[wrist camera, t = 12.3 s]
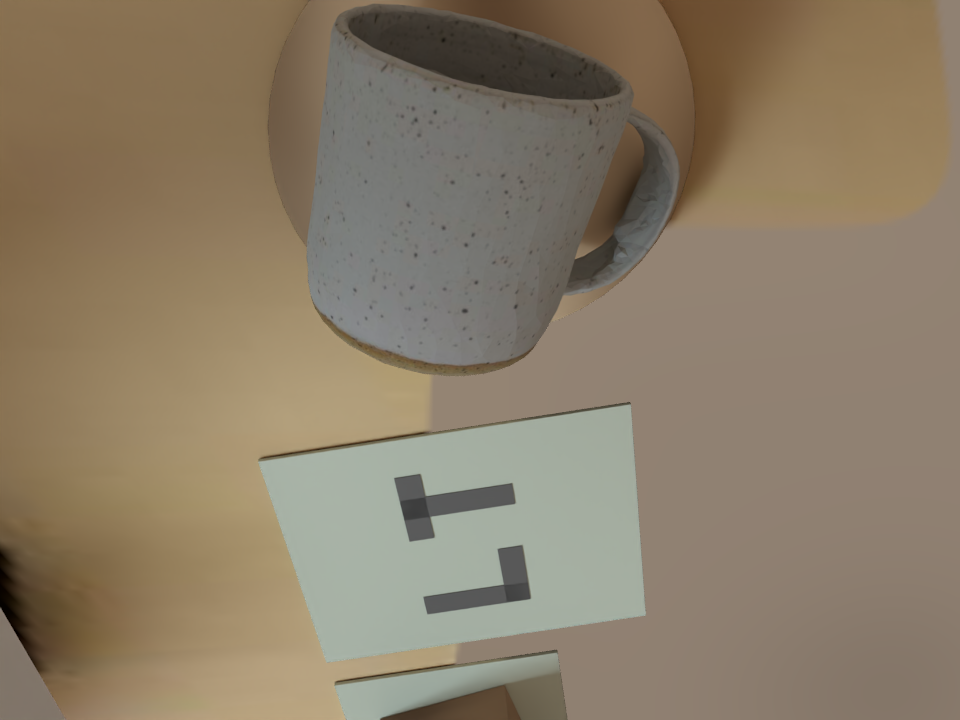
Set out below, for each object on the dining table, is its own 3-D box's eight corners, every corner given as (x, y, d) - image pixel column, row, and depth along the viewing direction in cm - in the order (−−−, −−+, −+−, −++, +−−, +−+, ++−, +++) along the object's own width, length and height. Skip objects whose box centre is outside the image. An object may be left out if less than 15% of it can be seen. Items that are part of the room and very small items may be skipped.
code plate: (327, 659, 39) (326, 663, 38) (258, 459, 33) (258, 462, 33) (645, 612, 38) (646, 616, 38) (630, 401, 33) (631, 405, 33)
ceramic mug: (310, 255, 28) (282, 381, 22) (343, -14, 24) (322, 39, 18) (623, 304, 30) (685, 435, 24) (701, 61, 26) (802, 135, 20)
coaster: (326, 353, 31) (324, 361, 30) (217, -50, 24) (212, -48, 24) (694, 295, 31) (699, 303, 30) (684, -128, 24) (689, -127, 24)
